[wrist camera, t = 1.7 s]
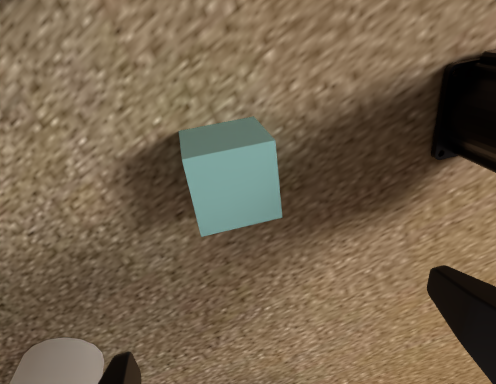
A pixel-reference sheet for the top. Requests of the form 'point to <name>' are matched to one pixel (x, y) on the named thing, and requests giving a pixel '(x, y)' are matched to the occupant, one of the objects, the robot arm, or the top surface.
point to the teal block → (231, 174)
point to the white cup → (60, 363)
